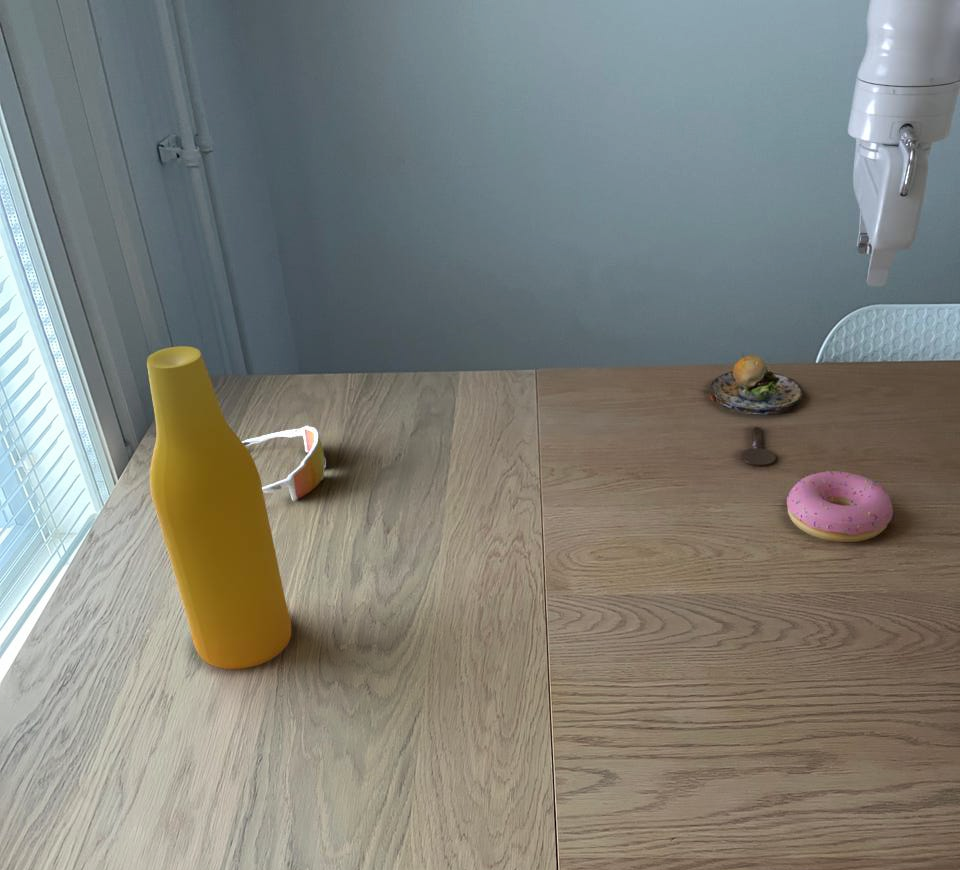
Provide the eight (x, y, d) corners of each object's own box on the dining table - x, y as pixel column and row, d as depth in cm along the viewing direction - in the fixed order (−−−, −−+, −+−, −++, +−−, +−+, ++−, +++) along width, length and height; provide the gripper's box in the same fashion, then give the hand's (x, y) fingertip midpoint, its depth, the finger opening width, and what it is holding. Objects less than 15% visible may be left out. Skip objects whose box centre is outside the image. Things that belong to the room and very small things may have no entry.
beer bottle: (313, 639, 95) (258, 351, 76) (236, 689, 90) (157, 393, 71) (253, 602, 100) (188, 324, 81) (177, 648, 95) (89, 362, 76)
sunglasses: (323, 507, 113) (311, 470, 110) (199, 528, 115) (183, 492, 112) (337, 448, 124) (325, 413, 121) (223, 468, 126) (209, 433, 123)
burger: (804, 422, 125) (814, 367, 120) (709, 419, 126) (716, 364, 122) (796, 382, 134) (805, 328, 129) (707, 379, 135) (713, 326, 131)
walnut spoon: (772, 434, 122) (773, 426, 122) (775, 472, 115) (776, 463, 115) (739, 433, 123) (740, 424, 122) (740, 470, 116) (741, 461, 115)
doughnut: (894, 506, 109) (903, 473, 106) (881, 559, 101) (890, 525, 98) (794, 488, 112) (800, 455, 110) (774, 538, 105) (780, 504, 102)
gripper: (957, 141, 81) (917, 306, 90) (922, 90, 96) (891, 235, 105) (876, 141, 82) (845, 304, 91) (855, 91, 98) (830, 234, 106)
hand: (869, 267), depth 98 cm, fingers open, 8 cm apart
